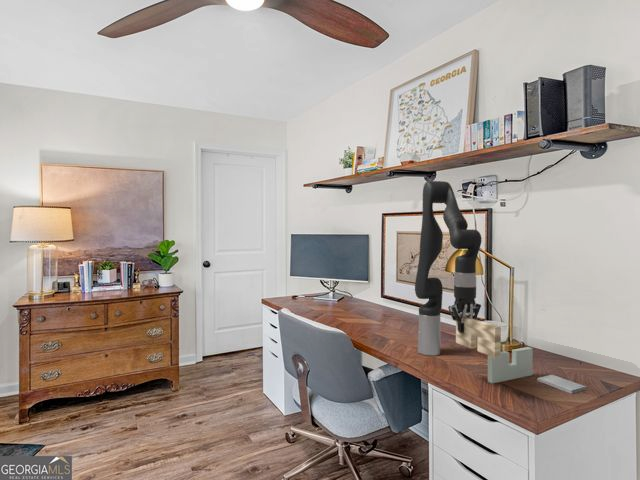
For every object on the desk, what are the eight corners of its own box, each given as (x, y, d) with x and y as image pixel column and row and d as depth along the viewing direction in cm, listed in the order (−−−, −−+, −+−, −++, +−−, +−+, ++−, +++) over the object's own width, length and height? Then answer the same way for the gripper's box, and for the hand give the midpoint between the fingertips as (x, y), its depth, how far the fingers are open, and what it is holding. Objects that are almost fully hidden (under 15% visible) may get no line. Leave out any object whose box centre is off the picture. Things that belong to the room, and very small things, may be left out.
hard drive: (587, 386, 133) (552, 373, 144) (571, 390, 129) (537, 377, 141) (587, 391, 133) (552, 378, 144) (571, 395, 129) (537, 382, 141)
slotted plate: (492, 383, 138) (492, 355, 138) (487, 381, 140) (487, 353, 140) (532, 375, 146) (532, 348, 146) (527, 373, 148) (527, 347, 147)
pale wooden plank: (500, 356, 129) (500, 326, 128) (494, 357, 128) (495, 327, 127) (461, 341, 145) (461, 315, 145) (455, 342, 144) (456, 315, 144)
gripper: (472, 282, 147) (471, 327, 148) (442, 284, 142) (442, 331, 143) (487, 285, 140) (487, 332, 141) (457, 287, 135) (456, 337, 136)
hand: (464, 331), depth 142 cm, fingers closed on pale wooden plank, 2 cm apart
